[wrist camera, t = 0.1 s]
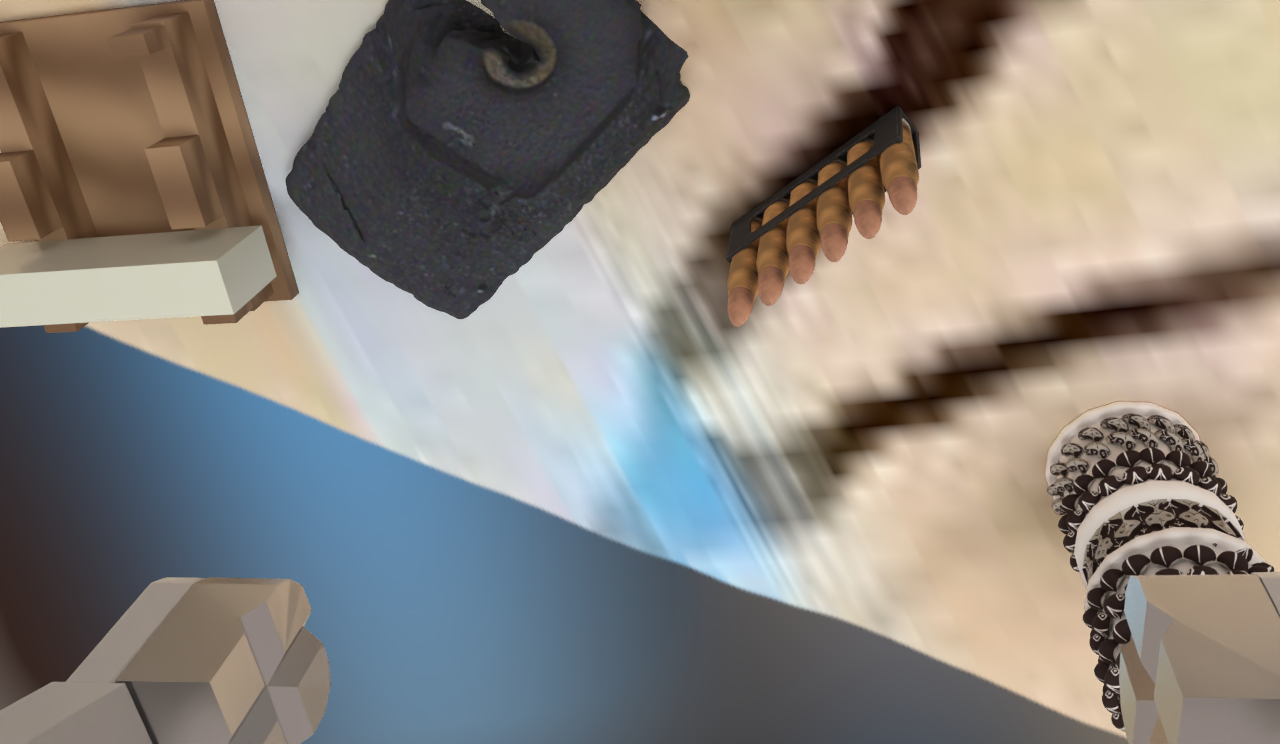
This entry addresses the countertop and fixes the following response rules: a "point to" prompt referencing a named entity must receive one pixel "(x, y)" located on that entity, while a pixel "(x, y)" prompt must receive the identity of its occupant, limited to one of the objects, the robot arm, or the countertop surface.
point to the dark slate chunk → (481, 135)
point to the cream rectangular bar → (133, 276)
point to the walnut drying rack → (130, 133)
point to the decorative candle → (1139, 516)
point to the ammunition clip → (822, 212)
